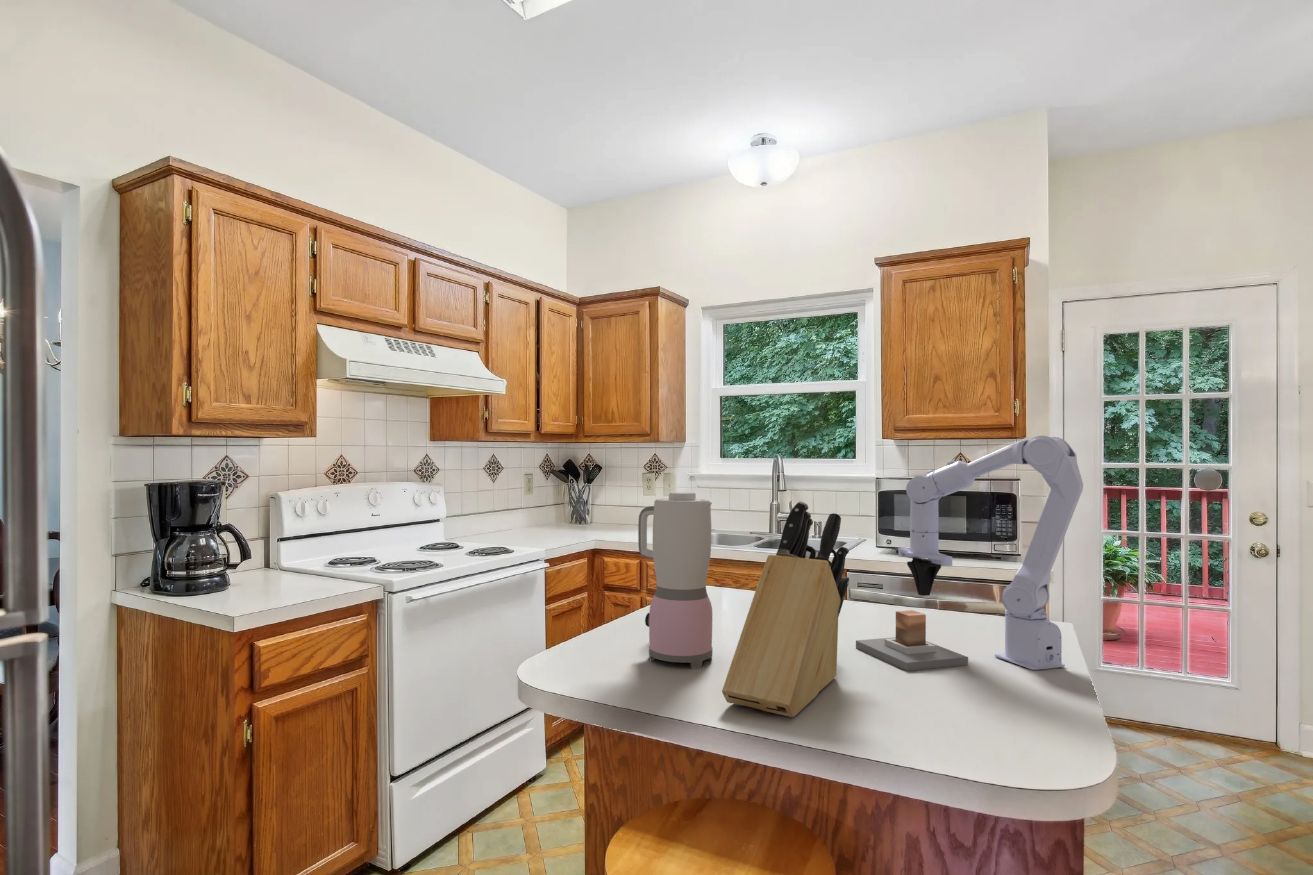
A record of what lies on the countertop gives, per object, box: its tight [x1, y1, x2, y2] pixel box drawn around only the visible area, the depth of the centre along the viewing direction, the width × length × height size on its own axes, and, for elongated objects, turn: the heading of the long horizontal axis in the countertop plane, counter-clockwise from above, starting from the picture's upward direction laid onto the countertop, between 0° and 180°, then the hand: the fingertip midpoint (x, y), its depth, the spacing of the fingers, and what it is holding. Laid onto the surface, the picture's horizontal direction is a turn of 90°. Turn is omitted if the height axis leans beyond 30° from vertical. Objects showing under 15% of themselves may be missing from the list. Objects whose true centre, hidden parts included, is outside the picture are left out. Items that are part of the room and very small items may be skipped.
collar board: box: [855, 636, 969, 672], centre depth 137 cm, size 16×14×3 cm
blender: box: [637, 491, 713, 669], centre depth 134 cm, size 16×12×32 cm
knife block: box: [721, 500, 850, 717], centre depth 118 cm, size 11×35×31 cm, turn 150°
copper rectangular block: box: [895, 609, 927, 647], centre depth 137 cm, size 4×4×7 cm
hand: (923, 594), depth 148 cm, fingers closed
